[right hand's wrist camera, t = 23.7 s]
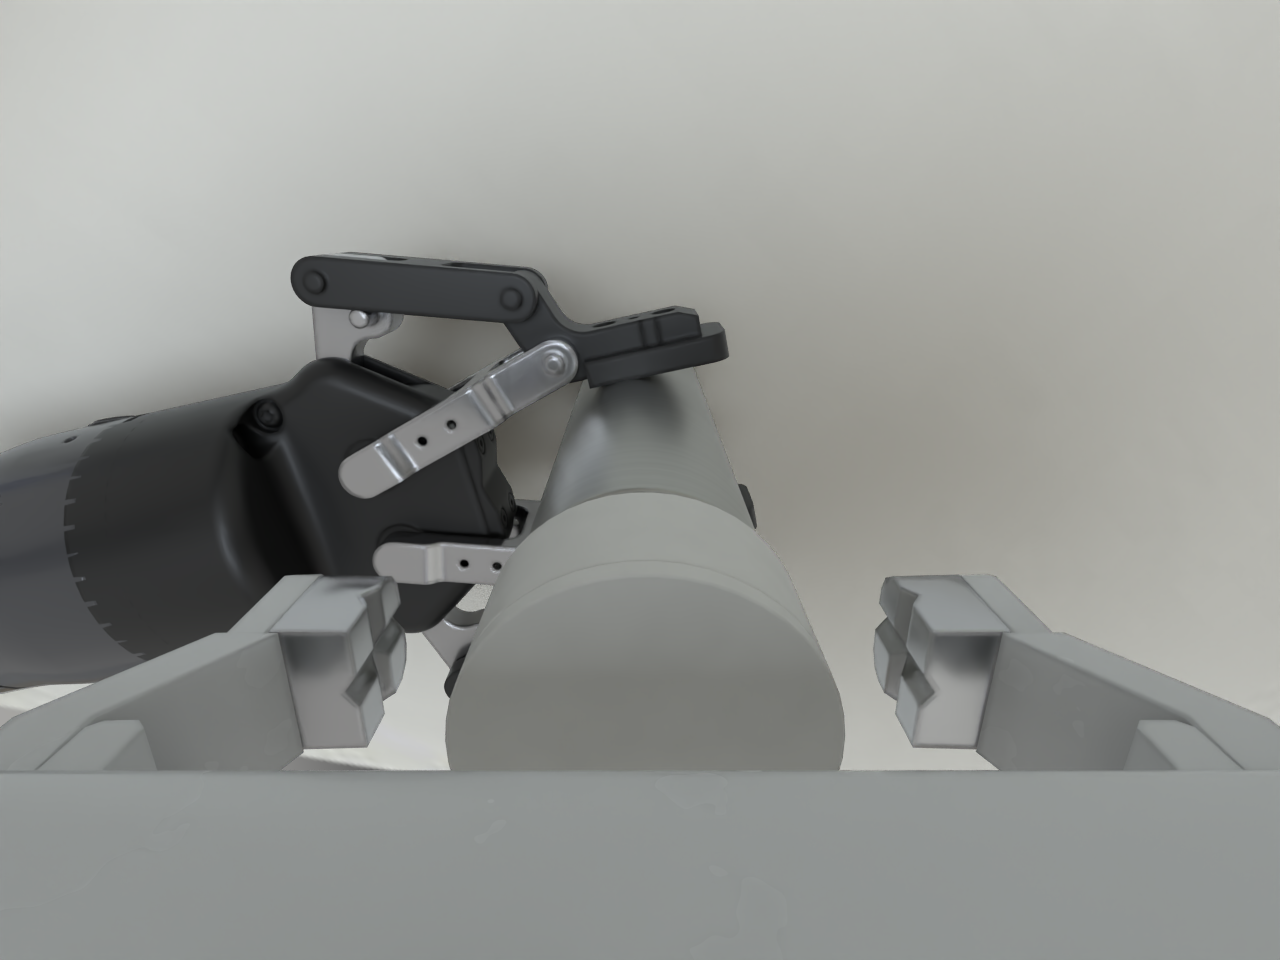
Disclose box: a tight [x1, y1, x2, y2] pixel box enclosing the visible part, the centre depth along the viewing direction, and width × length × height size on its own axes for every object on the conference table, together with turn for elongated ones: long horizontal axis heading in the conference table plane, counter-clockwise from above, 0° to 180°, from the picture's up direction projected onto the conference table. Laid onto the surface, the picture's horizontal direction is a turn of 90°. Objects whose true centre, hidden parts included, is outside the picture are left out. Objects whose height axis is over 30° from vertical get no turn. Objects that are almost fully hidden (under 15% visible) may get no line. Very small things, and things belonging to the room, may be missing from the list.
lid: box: [445, 492, 845, 770], centre depth 9 cm, size 5×5×2 cm
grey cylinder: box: [529, 367, 756, 535], centre depth 17 cm, size 4×4×18 cm
